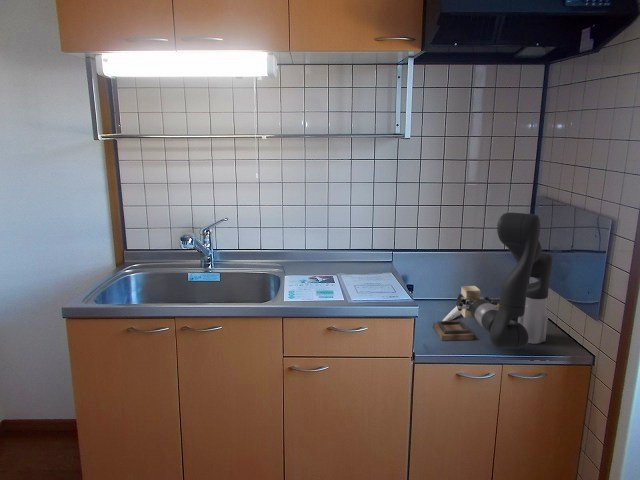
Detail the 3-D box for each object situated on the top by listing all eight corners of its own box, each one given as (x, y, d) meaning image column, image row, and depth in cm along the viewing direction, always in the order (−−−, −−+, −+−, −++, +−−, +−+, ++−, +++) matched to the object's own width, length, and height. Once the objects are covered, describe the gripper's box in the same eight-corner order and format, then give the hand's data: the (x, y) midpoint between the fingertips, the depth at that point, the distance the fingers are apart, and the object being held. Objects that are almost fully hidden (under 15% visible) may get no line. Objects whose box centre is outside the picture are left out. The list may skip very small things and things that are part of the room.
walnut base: (462, 326, 193) (462, 318, 192) (473, 339, 181) (474, 331, 181) (432, 327, 192) (432, 319, 192) (441, 340, 181) (442, 332, 180)
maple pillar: (473, 312, 177) (475, 285, 174) (478, 317, 172) (480, 290, 169) (460, 312, 176) (461, 286, 174) (464, 317, 172) (466, 290, 169)
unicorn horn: (431, 323, 197) (432, 312, 195) (461, 308, 213) (462, 297, 212) (441, 327, 193) (442, 315, 192) (471, 311, 209) (472, 300, 208)
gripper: (508, 302, 158) (487, 285, 175) (465, 304, 157) (448, 287, 174) (506, 324, 160) (486, 305, 177) (464, 325, 159) (447, 306, 176)
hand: (467, 296), depth 175 cm, fingers closed on maple pillar, 5 cm apart
